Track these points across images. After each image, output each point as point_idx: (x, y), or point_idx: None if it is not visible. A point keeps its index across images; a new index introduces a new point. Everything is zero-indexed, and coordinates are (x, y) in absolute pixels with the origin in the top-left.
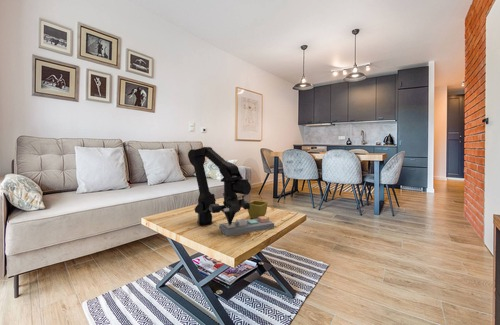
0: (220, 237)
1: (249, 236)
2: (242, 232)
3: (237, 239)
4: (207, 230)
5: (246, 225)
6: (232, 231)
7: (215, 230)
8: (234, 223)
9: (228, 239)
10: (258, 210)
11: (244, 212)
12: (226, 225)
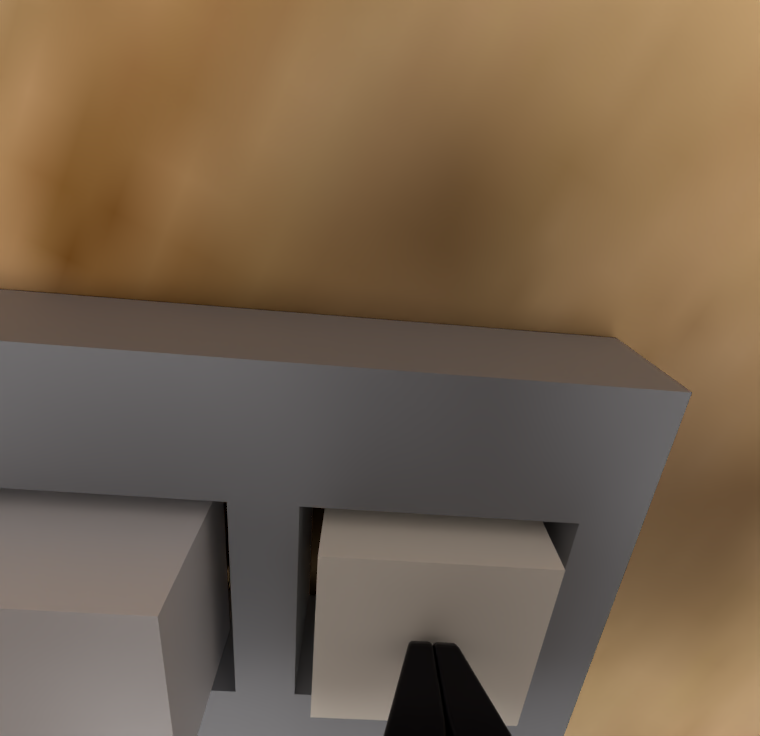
0: (751, 344)
1: (111, 33)
2: (211, 313)
3: (507, 10)
4: (709, 693)
5: None
6: (493, 361)
7: (607, 651)
8: (243, 700)
9: (692, 143)
10: None
11: None
12: (530, 644)
